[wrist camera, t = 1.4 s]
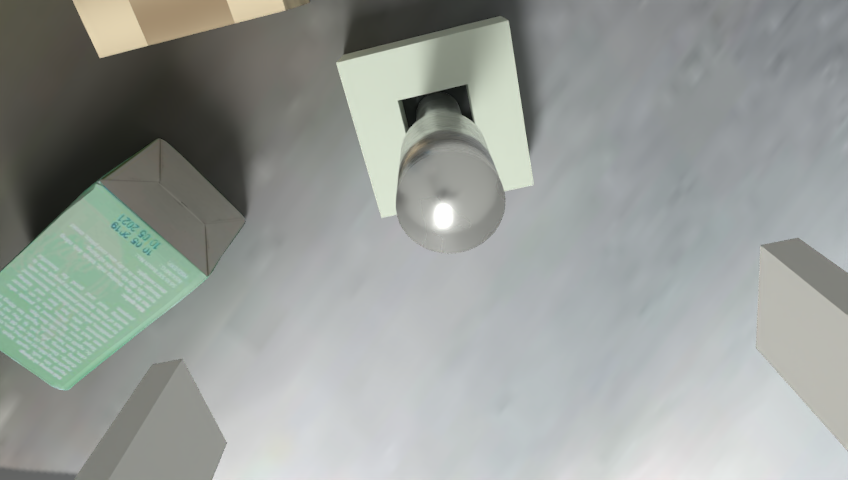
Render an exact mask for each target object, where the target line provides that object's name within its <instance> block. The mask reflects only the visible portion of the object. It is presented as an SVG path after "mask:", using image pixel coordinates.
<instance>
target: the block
mask: <svg viewBox="0 0 848 480" xmlns="http://www.w3.org/2000/svg"><path fill="white" fill-rule="evenodd" d="M73 3H74V5H75V7H76V9H77V11H78V13H79V15H80V17H81V19H82V22H83V24H84V26H85V28H86V30H87V32H88V34H89V36H90V38H91V41H92V43H93V45H94V47H95V49H96V51H97V53H98V55H99V57H100V58H102V57H106V56H110V55H114V54H118V53H122V52H126V51H130V50H133V49H137V48H141V47H145V46H149V45H153V44H157V43H161V42H165V41H168V40H172V39H176V38H180V37H184V36H188V35H192V34H196V33H199V32H203V31H207V30H211V29H215V28H219V27H223V26H227V25H230V24H234V23H238V22H242V21H246V20H250V19H254V18H258V17H262V16H265V15H269V14H273V13H277V12H281V11H285V10H288V9H291V8H295V7H298V6H301V5H304V4H307V3H310V2H309V0H73Z"/></svg>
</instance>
